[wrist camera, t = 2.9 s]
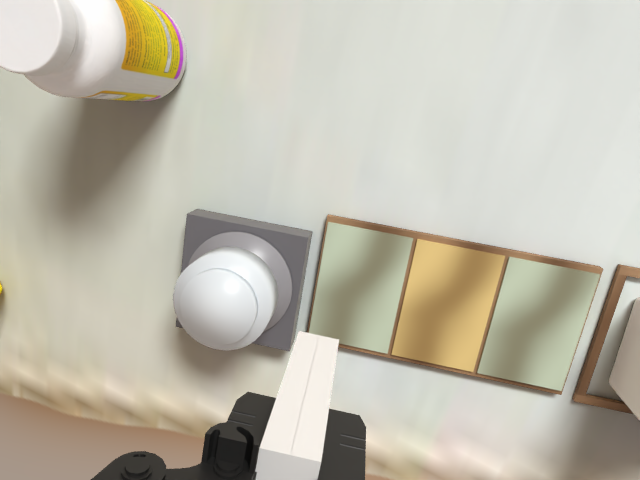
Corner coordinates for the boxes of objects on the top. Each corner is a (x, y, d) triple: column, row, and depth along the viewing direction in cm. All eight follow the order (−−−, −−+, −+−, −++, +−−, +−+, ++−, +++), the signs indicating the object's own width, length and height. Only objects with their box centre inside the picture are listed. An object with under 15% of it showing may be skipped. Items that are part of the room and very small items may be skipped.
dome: (284, 256, 34) (274, 271, 31) (271, 343, 36) (259, 365, 32) (192, 238, 34) (172, 250, 31) (183, 324, 36) (164, 344, 33)
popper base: (312, 231, 37) (307, 238, 35) (294, 339, 39) (288, 353, 37) (197, 208, 38) (185, 214, 36) (186, 316, 40) (174, 328, 38)
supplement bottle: (147, -18, 34) (12, -94, 22) (208, 61, 35) (110, 31, 23) (83, 47, 36) (-76, 10, 24) (142, 121, 37) (18, 123, 24)
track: (599, 266, 35) (604, 269, 34) (558, 390, 37) (562, 396, 37) (328, 214, 37) (326, 216, 36) (306, 336, 39) (305, 340, 38)
